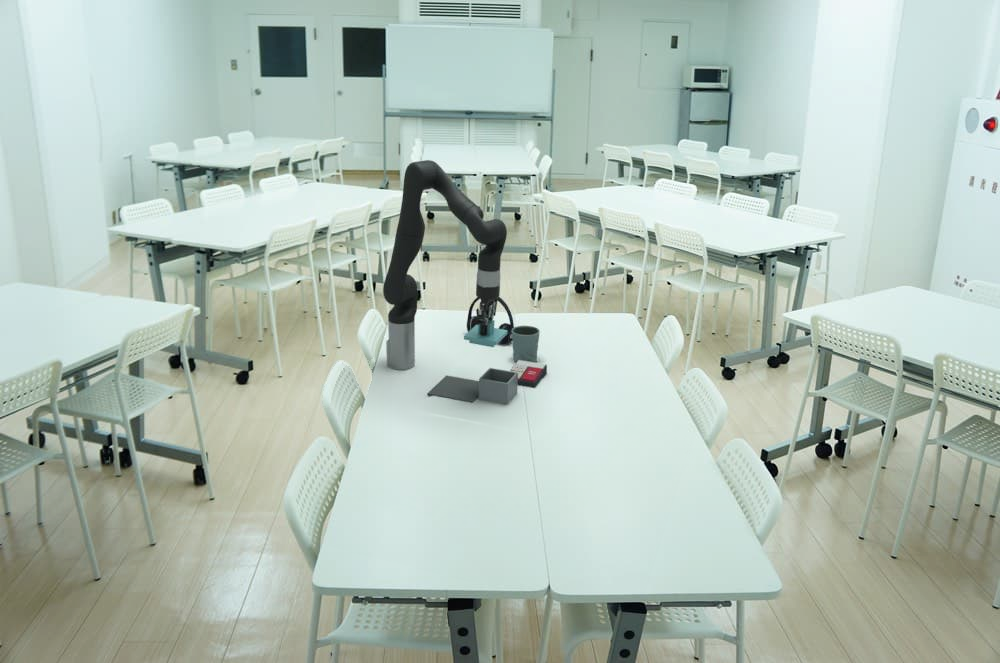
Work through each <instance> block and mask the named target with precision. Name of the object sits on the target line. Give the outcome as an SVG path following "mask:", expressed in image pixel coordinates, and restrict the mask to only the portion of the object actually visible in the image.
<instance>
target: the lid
mask: <svg viewBox="0 0 1000 663" xmlns="http://www.w3.org/2000/svg"><path fill="white" fill-rule="evenodd" d="M482 321H483V320H482ZM507 332H508V330H503V329H498V328H495V320H494V319H493V320H488V324H487V335H486V336H484V335H480V324H479V325H476V326H474V327H473V328H472V329H471V330H470V331H469V332H468V331H467V333H465V334H464V335H463V340H466V341H468V342H469V344H473V345H477V346H478V345H479V346H485V347H490V348H494V347H495V346H497V345H498V344H499V342H500V341H501V340H502V339H503V338H504V337H505V336H506V335H507Z"/></svg>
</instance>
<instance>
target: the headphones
mask: <svg viewBox="0 0 1000 663" xmlns="http://www.w3.org/2000/svg"><path fill="white" fill-rule="evenodd" d="M479 300H481V299H480V298H478V297H477V296H476V298H475V299H474V300H473V301H472V302H471V304H470V306H469V310H468V313H467V314H468V315H467V321H466V330H467V333H468V332H469V331H470V330H471V329H472V328H473V327H474V326H476V325H479V324H478V323H477V315H474V316H473V315H472V314H473V309H474V306H475V304H476V303H477V302H478V301H479ZM497 302H499V303H500V305H502V307H503V308H504V309H505V311H506V313H507V316H508V320H509V323H506V322H503V323H501V324H500V325H499V327H498V328H497V329H503V330H508V332H507V335H506V336H505V337H504V338H503V339H502V340H501V341H500V342H499V343H500V344H502V345H506V344H508V343H509V344H510V343H513V342H512V329H513V328H514V327H515V324H514V317H513V315H512V312H511V310H510V308H509V306H508V304H507V303H506V301H505V300H504V299H502V297H500V296H499V297H498V301H497ZM499 343H498V344H499Z"/></svg>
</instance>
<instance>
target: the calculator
mask: <svg viewBox="0 0 1000 663" xmlns="http://www.w3.org/2000/svg"><path fill="white" fill-rule="evenodd" d="M509 371H512V372H517V373H518V386H522V387H528V388H534V389H535V388H536V387H537V386H538V384H539V383H541V380H542V379H544V378H545V377H546V375H547V374H548V373H547V372H548V365H547V364H546V363H540V362H535V363H534V362H528V361H522V360H518V361H517V362H516V363H515V362H514V364H513V366H512V367H511V369H510V370H509ZM544 376H545V377H544Z"/></svg>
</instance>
